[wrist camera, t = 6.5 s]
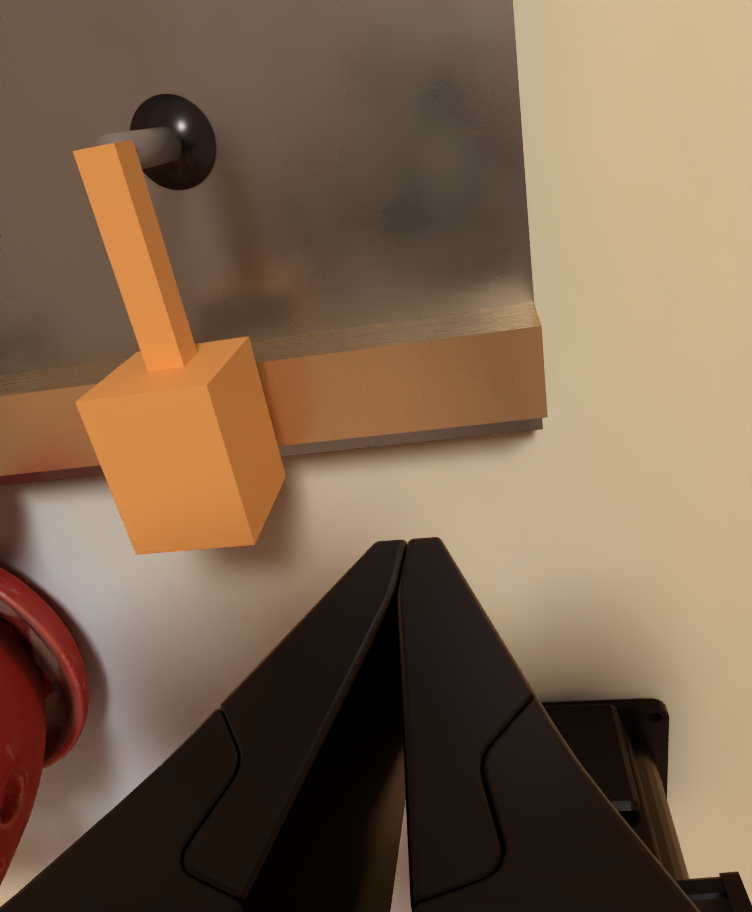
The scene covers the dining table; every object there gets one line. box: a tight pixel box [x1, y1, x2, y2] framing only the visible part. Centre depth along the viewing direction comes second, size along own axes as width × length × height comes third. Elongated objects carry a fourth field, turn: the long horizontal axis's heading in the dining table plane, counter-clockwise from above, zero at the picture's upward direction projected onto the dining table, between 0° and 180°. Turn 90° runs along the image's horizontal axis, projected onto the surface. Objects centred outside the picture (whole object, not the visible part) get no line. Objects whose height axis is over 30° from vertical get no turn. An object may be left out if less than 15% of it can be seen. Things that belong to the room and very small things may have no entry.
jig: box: [0, 0, 547, 486], centre depth 17 cm, size 14×21×6 cm, turn 100°
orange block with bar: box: [73, 127, 286, 555], centre depth 17 cm, size 9×3×5 cm, turn 10°
